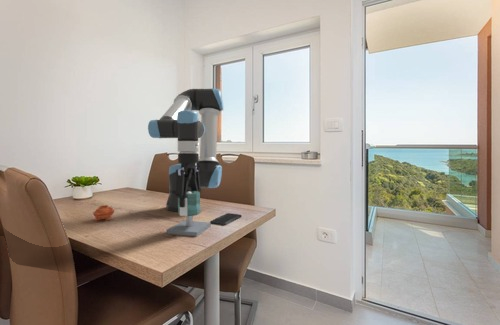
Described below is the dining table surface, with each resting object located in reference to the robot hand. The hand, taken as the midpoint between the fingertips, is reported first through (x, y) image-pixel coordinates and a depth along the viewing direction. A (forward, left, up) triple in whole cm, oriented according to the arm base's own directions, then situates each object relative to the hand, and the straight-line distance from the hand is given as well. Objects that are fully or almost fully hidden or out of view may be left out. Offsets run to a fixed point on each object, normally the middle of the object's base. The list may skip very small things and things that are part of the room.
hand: (189, 212), depth 94 cm
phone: (-16, +9, -7) cm, 20 cm away
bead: (0, 0, 0) cm, 0 cm away
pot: (-3, -43, -7) cm, 44 cm away
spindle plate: (0, 0, -7) cm, 7 cm away
